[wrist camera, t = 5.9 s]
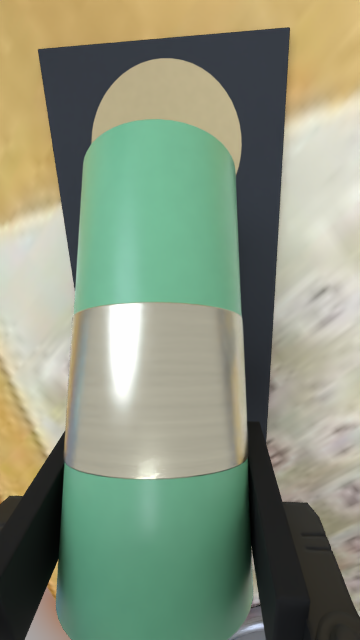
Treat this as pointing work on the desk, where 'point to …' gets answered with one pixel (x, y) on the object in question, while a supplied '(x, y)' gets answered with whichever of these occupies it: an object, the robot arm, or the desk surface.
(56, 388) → the desk surface
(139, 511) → the can
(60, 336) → the desk surface
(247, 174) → the mat
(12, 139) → the desk surface
